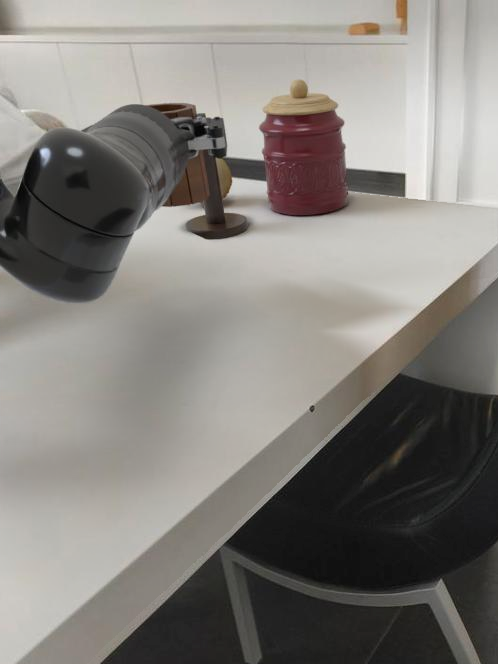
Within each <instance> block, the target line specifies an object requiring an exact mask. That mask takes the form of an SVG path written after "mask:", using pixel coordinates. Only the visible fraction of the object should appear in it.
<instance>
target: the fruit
mask: <svg viewBox="0 0 498 664" xmlns="http://www.w3.org/2000/svg"><path fill="white" fill-rule="evenodd" d="M216 162H217V168H218V174H219V181H220V187H221V194H222V200H223V199H225V198H227V196H228V195H229V193H230V190H231V188H232V185H233V177H232V173H231V170H230V167H229V165H228V164H227V162H226V160H224V159H223V158H221V159H218V158H216ZM198 203H200V204H203V201H201V202H198ZM203 205H204V204H203Z"/></svg>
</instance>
